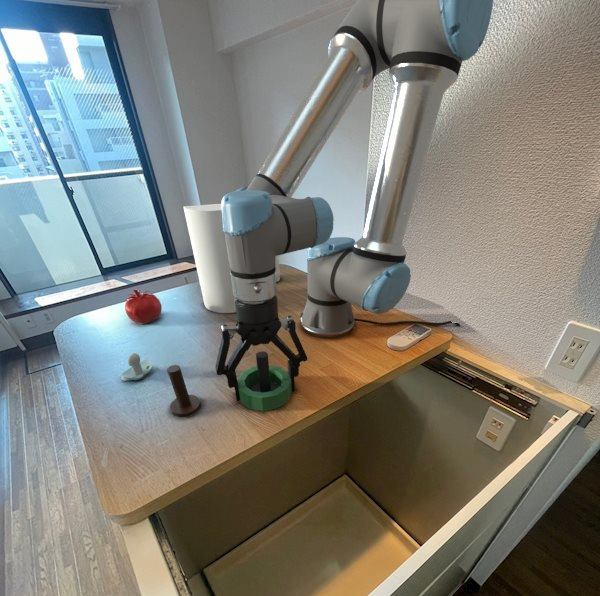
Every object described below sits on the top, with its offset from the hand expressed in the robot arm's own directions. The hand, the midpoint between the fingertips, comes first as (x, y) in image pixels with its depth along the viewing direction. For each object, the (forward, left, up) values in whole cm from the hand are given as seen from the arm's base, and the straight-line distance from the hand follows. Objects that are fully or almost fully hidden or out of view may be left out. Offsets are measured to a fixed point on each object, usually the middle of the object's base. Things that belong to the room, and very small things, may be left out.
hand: (265, 392), depth 71 cm
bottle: (-14, -65, 0) cm, 67 cm away
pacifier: (+28, -15, 0) cm, 32 cm away
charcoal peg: (0, 0, 0) cm, 0 cm away
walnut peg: (+17, 0, 0) cm, 17 cm away
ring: (0, 0, 0) cm, 0 cm away
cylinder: (+2, -50, 0) cm, 50 cm away
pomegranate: (+28, -45, 0) cm, 53 cm away
